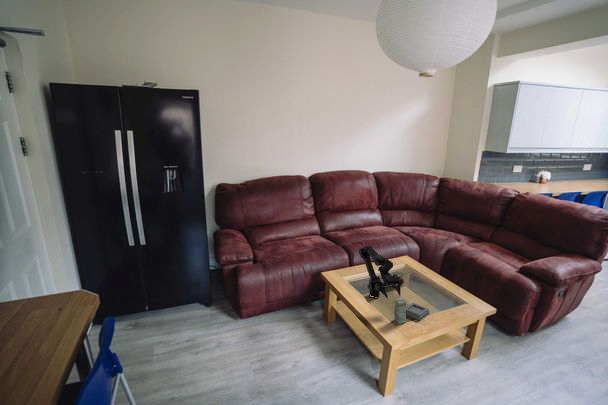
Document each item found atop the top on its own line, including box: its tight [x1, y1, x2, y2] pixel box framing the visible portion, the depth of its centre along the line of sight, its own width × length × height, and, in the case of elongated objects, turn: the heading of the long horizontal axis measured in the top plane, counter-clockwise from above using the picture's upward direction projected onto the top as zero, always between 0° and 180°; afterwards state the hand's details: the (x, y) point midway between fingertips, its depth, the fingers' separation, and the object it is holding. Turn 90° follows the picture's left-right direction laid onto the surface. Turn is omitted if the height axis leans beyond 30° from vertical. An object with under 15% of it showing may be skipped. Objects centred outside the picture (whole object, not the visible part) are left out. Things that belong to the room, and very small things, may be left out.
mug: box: [390, 272, 405, 289], centre depth 228 cm, size 10×8×10 cm
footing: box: [406, 302, 431, 322], centre depth 190 cm, size 12×12×4 cm
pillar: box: [393, 297, 407, 325], centre depth 182 cm, size 5×5×14 cm
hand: (393, 296), depth 188 cm, fingers open, 9 cm apart
